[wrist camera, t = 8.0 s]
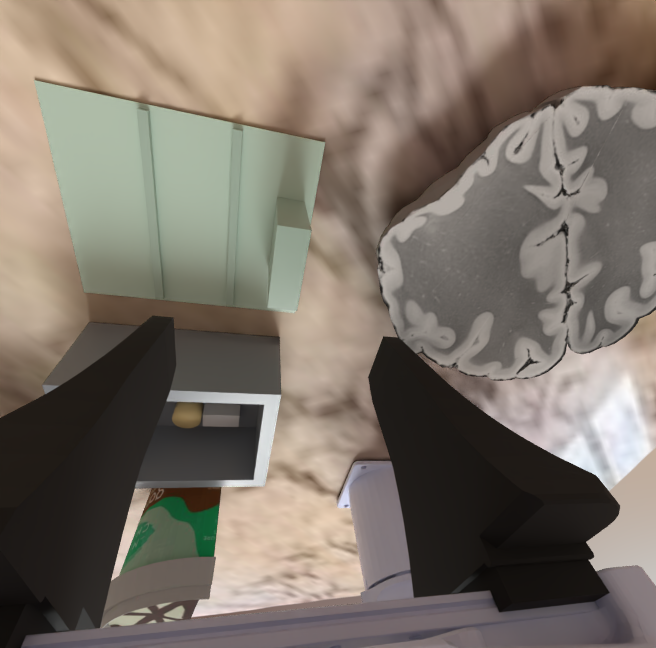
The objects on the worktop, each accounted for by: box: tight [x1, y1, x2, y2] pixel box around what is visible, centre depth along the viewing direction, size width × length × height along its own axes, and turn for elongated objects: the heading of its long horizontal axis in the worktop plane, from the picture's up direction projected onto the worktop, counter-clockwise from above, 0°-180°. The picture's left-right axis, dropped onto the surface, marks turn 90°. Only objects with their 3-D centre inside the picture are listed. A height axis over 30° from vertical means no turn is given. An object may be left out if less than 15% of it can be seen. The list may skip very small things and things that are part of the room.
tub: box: [42, 322, 281, 489], centre depth 21 cm, size 11×9×5 cm
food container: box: [100, 487, 221, 628], centre depth 26 cm, size 12×6×10 cm, turn 156°
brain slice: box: [376, 85, 656, 381], centre depth 20 cm, size 20×17×3 cm
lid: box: [34, 80, 325, 313], centre depth 16 cm, size 12×10×5 cm
